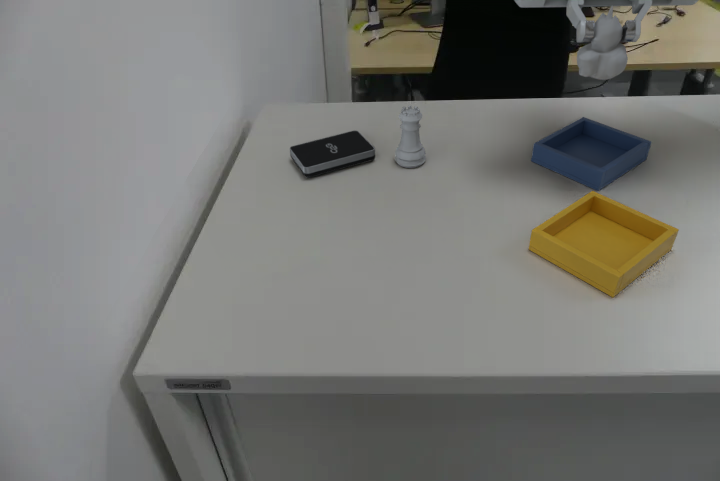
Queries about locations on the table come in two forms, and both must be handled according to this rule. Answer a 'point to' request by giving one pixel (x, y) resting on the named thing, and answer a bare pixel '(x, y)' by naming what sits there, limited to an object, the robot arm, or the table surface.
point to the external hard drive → (332, 153)
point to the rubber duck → (603, 50)
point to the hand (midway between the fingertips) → (608, 40)
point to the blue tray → (590, 152)
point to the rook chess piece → (410, 139)
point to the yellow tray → (602, 242)
